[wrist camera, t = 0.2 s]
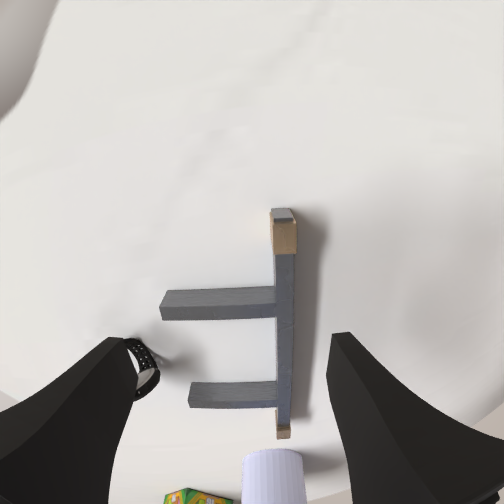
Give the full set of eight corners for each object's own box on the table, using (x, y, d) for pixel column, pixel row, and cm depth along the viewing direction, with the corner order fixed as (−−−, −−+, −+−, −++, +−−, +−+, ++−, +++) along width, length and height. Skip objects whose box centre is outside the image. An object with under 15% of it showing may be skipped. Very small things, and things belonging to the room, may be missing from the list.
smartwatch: (130, 369, 22) (112, 413, 17) (105, 321, 20) (77, 364, 15) (173, 368, 21) (160, 416, 17) (150, 317, 20) (127, 364, 15)
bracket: (288, 419, 24) (290, 439, 22) (203, 421, 24) (200, 440, 22) (290, 207, 16) (296, 219, 14) (153, 217, 17) (139, 230, 14)
